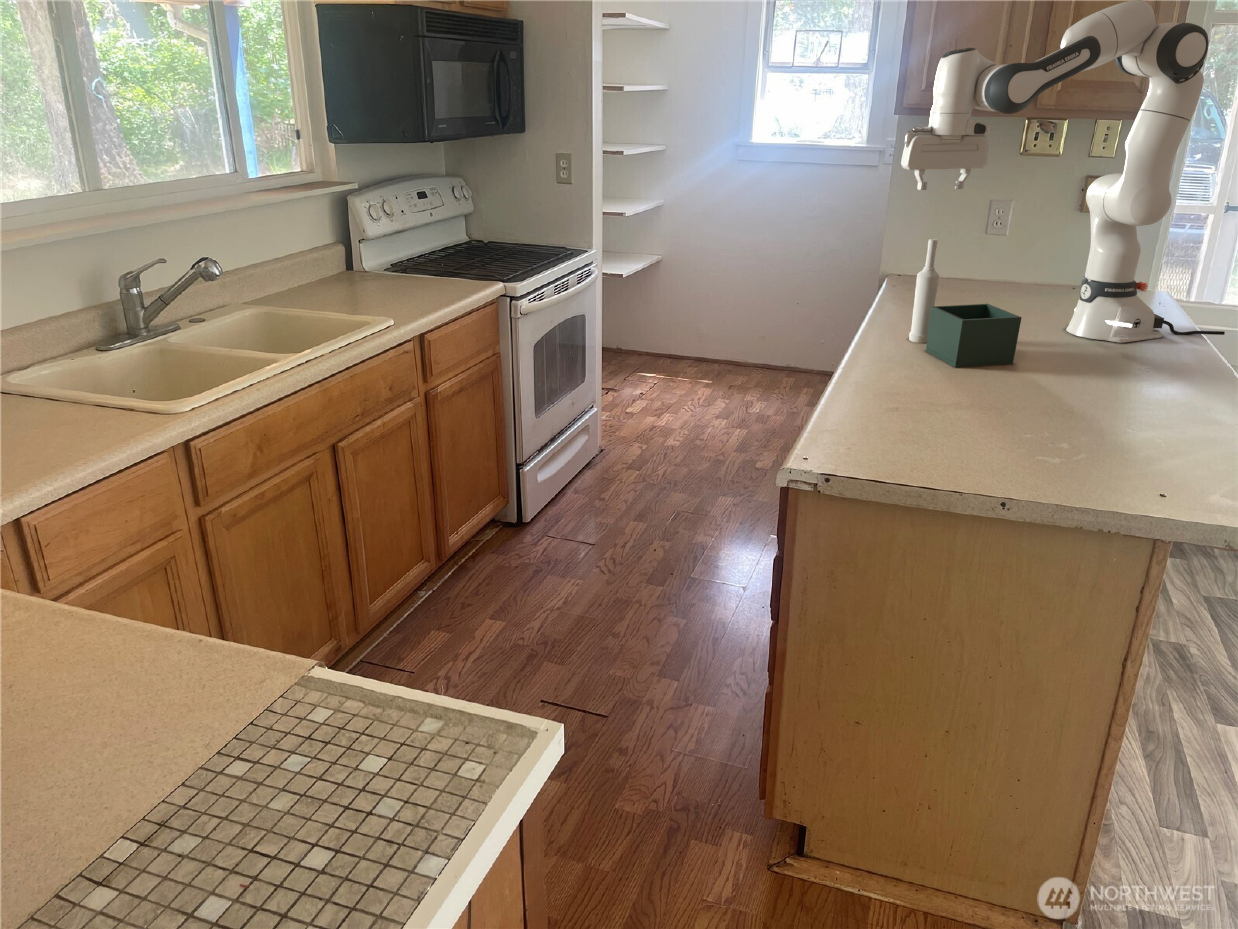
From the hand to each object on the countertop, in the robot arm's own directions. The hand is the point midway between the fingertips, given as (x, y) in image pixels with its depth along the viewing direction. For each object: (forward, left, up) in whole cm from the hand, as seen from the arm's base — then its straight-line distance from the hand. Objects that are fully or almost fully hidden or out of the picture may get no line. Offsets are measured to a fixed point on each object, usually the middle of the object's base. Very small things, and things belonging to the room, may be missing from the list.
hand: (940, 189), depth 205 cm
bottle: (0, 0, -37) cm, 37 cm away
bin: (-4, +16, -37) cm, 40 cm away
